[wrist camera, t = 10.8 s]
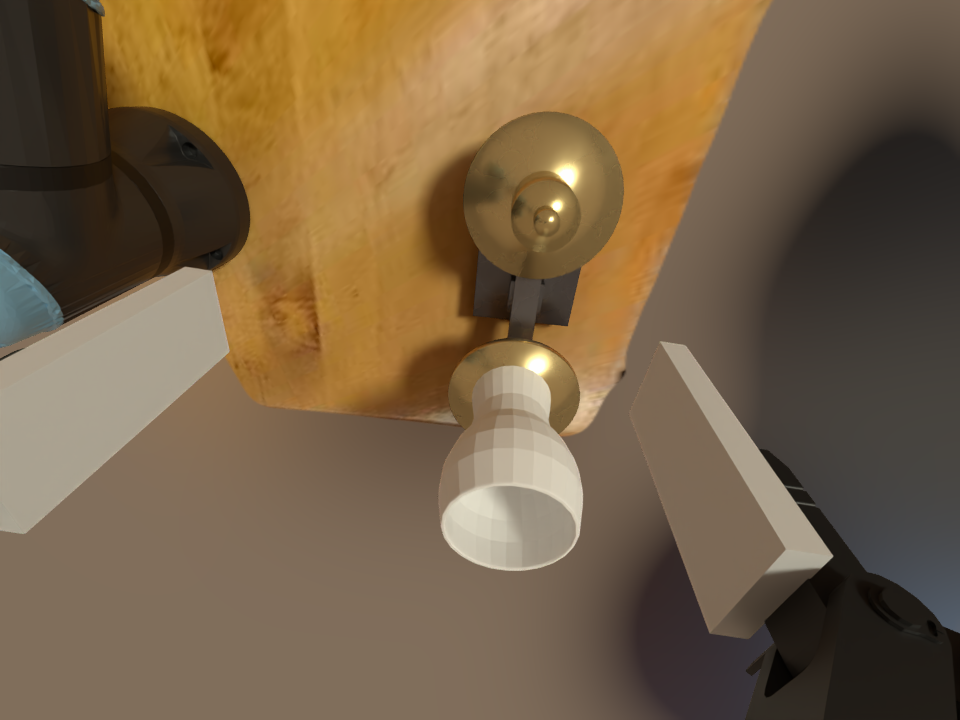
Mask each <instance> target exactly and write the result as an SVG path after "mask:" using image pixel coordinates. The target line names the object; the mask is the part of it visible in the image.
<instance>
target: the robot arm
mask: <svg viewBox="0 0 960 720" xmlns="http://www.w3.org/2000/svg"><path fill="white" fill-rule="evenodd" d="M101 16H104V17H105V11H104V8H103V6H102V4H101V3H100V2H99V0H0V348H2V347H6V346H9V345H12V344H14V343H17V342H19V341H22V340H24V339H27V338H29V337H31V336H34V335H36V334H39V333H41V332H48V331H52V330H54V329H57V328H58V327H60V326H61V325H63V324H64V323H66V322H68V321H70V320H72V319H74V318H76V317H78V316H80V315H82V314H84V313H86V312H88V311H90V310H92V309H93V308H95V307H97V306H99V305H101V304H103V303H105V302H107V301H109V300H111V299H113V298H115V297H117V296H119V295H121V294H122V293H124V292H126V291H128V290H130V289H132V288H134V287H136V286H138V285H140V284H142V283H144V282H146V281H148V280H150V279H152V278H154V277H159V276H166V277H164V278H162V279H160V280H158V281H156V282H154V283H152V284H151V285H148V286H146V287H144V288H142V289H141V290H138V291H137V292H135V293H133V294H131V295H129V296H127V297H125V298H123V299H121V300H119V301H117V302H115V303H113V304H111V305H109V306H107V307H105V308H103V309H101V310H99V311H97V312H95V313H93V314H92V315H89V316H87V317H86V318H84V319H82V320H80V321H78V322H76V323H74V324H72V325H70V326H68V327H66V328H64V329H62V330H60V331H58V332H56V333H54V334H52V335H50V336H48V337H46V338H44V339H42V340H40V341H38V342H37V343H34V344H33V345H31V346H29V347H27V348H23V349H20V350H17V351H14V352H12V353H10V354H8V355H6V356H4V357H2V358H0V530H1V531H8V532H15V533H21V534H25V533H26V532H28V531H29V530H30V529H31V528H32V527H33V526H34V525H35V524H37V523H38V522H39V521H40V520H41V519H42V518H43V517H44V516H46V515H47V514H48V513H49V512H50V511H51V510H52V509H54V508H55V507H56V506H57V505H58V504H59V503H60V502H61V501H63V499H65V498H66V497H67V496H68V495H69V494H70V493H71V492H73V490H75V489H76V488H77V487H78V486H79V485H80V484H81V483H83V482H84V481H85V480H86V479H87V478H88V477H89V476H91V475H92V474H93V473H94V472H95V471H96V470H97V469H99V468H100V467H101V466H102V465H103V464H104V463H105V462H106V461H107V460H109V459H110V458H111V457H112V456H113V455H114V454H115V453H116V452H118V451H119V450H120V449H121V448H122V447H123V446H124V445H125V444H127V443H128V442H129V441H130V440H131V439H132V438H133V437H134V436H136V435H137V434H138V433H139V432H140V431H141V430H142V429H143V428H145V427H146V426H147V425H148V424H149V423H150V422H151V421H152V420H153V419H155V418H156V417H157V416H158V415H159V414H160V413H161V412H163V411H164V410H165V409H166V408H167V407H168V406H169V405H170V404H172V403H173V402H174V401H175V400H176V399H177V398H178V397H179V396H181V395H182V394H183V393H184V392H185V391H186V390H187V389H188V388H190V387H191V385H193V384H194V383H195V382H196V381H197V380H198V379H200V378H201V377H202V376H203V375H204V374H205V373H206V372H208V371H209V370H210V369H211V368H212V367H213V366H214V365H215V364H217V363H218V362H219V361H220V360H221V359H222V358H223V357H224V356H226V355H227V354H228V353H229V352H230V351H229V347H228V342H227V337H226V333H225V328H224V324H223V319H222V315H221V310H220V306H219V301H218V296H217V292H216V287H215V283H214V278H213V274H212V271H211V270H213V269H215V268H217V267H219V266H221V265H223V264H225V263H227V262H228V261H230V260H231V259H233V258H234V257H235V256H236V255H237V254H238V253H239V252H240V251H241V249H242V248H243V246H244V244H245V242H246V240H247V237H248V233H249V227H250V211H249V204H248V199H247V196H246V192H245V189H244V187H243V184H242V182H241V180H240V178H239V176H238V174H237V172H236V170H235V168H234V167H233V165H232V164H231V162H230V161H229V159H228V158H227V156H226V155H225V154H224V153H223V151H222V150H221V149H220V148H219V147H218V146H217V144H216V143H215V142H214V141H213V140H212V139H211V138H209V137H208V136H207V135H206V134H205V133H204V132H203V131H201V130H200V129H199V128H197V127H196V126H195V125H193V124H192V123H190V122H188V121H187V120H185V119H183V118H181V117H179V116H177V115H175V114H173V113H170V112H168V111H165V110H161V109H157V108H152V107H117V108H112V109H108V105H107V90H106V76H105V62H104V48H103V34H102V20H101ZM629 415H630V418H631V421H632V423H633V426H634V429H635V432H636V434H637V437H638V440H639V443H640V445H641V448H642V451H643V453H644V456H645V459H646V462H647V464H648V467H649V470H650V472H651V475H652V478H653V480H654V483H655V486H656V489H657V491H658V494H659V497H660V499H661V502H662V505H663V508H664V511H665V513H666V516H667V519H668V521H669V524H670V527H671V530H672V532H673V535H674V538H675V540H676V543H677V546H678V549H679V551H680V554H681V557H682V559H683V562H684V565H685V567H686V570H687V573H688V576H689V578H690V581H691V584H692V587H693V589H694V592H695V595H696V597H697V600H698V603H699V605H700V608H701V611H702V614H703V616H704V619H705V622H706V625H707V627H708V630H709V633H710V634H718V635H724V636H732V637H738V638H745V639H749V638H750V637H751V636H752V635H753V634H754V633H755V632H756V631H757V630H758V629H759V628H760V627H761V626H762V625H763V624H766V626H767V628H768V630H769V632H770V634H771V636H772V638H773V640H774V644H772V645H771V646H770V647H769V648H768V649H767V650H766V651H765V652H764V653H762V654H761V655H760V656H759V657H758V658H757V659H756V660H755V661H754V662H753V663H752V664H751V665H750V666H749V667H748V669H747V670H746V672H748V673H749V674H750V675H751V676H752V675H753V674H755V673H756V672H757V671H758V670H759V669H761V670H760V673H759V676H758V679H757V683H756V686H755V689H754V692H753V696H752V699H751V702H750V705H749V709H748V712H747V715H746V718H745V720H960V633H958V632H955V631H953V630H950V629H948V628H945V627H943V626H942V625H941V624H940V622H939V621H938V619H937V618H936V617H935V615H934V614H933V613H932V612H931V611H930V610H929V609H928V608H927V607H926V606H925V605H923V603H922V602H921V601H920V600H918V599H917V598H916V597H915V596H913V595H912V594H911V593H909V592H908V591H906V590H905V589H904V588H902V587H901V586H899V585H898V584H896V583H894V582H892V581H890V580H888V579H886V578H884V577H882V576H880V575H876V574H873V573H868V572H866V570H865V569H864V568H863V567H862V565H861V564H860V563H859V561H858V560H857V558H856V557H855V556H854V554H853V553H852V552H851V550H850V549H849V548H848V546H847V545H846V544H845V542H844V541H843V540H842V538H841V537H840V536H839V534H838V533H837V532H836V530H835V529H834V528H833V526H832V525H831V524H830V522H829V521H828V520H827V518H826V517H825V516H824V514H823V513H822V512H821V510H820V509H819V508H816V507H815V502H814V501H813V500H812V498H811V497H810V496H809V494H808V493H807V492H806V491H803V487H802V485H801V483H800V482H799V481H798V479H797V478H796V477H795V475H794V474H793V473H792V472H791V470H790V469H789V468H788V467H787V466H786V465H785V464H784V463H782V462H781V461H780V460H779V459H778V458H776V457H775V456H774V455H773V454H772V453H770V451H768V450H764V449H758V448H757V447H756V445H755V444H754V442H753V441H752V439H751V438H750V437H749V435H748V434H747V432H746V431H745V430H744V428H743V427H742V425H741V424H740V423H739V421H738V420H737V418H736V417H735V415H734V414H733V412H732V411H731V410H730V408H729V407H728V405H727V404H726V402H725V401H724V400H723V398H722V397H721V395H720V394H719V392H718V391H717V390H716V388H715V387H714V385H713V384H712V383H711V381H710V380H709V378H708V377H707V376H706V374H705V372H704V371H703V370H702V369H701V367H700V365H699V364H698V363H697V361H696V360H695V358H694V357H693V355H692V354H691V353H690V351H689V350H688V348H687V347H686V346H685V345H680V344H673V343H667V342H661V341H660V342H659V345H658V347H657V349H656V351H655V354H654V356H653V358H652V361H651V363H650V365H649V368H648V370H647V372H646V375H645V377H644V379H643V381H642V384H641V386H640V388H639V391H638V393H637V395H636V398H635V400H634V402H633V405H632V407H631V409H630V411H629Z"/></svg>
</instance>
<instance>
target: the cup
mask: <svg viewBox="0 0 960 720" xmlns="http://www.w3.org/2000/svg"><path fill="white" fill-rule="evenodd" d="M550 405H551V394H550V390H549V387H548V385H547V383H546V382H545V381H544V379H543V378H542V377H541V376H540V375H538V374H537V373H536V372H534V371H532V370H530V369H527V368H525V367H519V366H501V367H498V368H495V369H492V370H490V371H488V372H487V373H485V374H484V375H483V376H482V377H481V378H480V379H479V380H478V381H477V382H476V384H475V386H474V388H473V394H472V406H473V414H474V419H473V422H472V425H471V426H470V427H468V428H467V429H466V430H465V431H464V432H463V433H462V434H461V435H460V437H459V438H458V440H457V441H456V443H455V445H454V446H453V448H452V449H451V451H450V453H449V455H448V457H447V458H446V460H445V462H444V465H443V470H442V475H441V480H440V485H439V493H438V501H439V514H440V525H441V529H442V533H443V536H444V538H445V539H446V541H447V542H448V544H449V545H450V547H451V548H452V549H453V550H455V551H456V552H457V553H458V554H459V555H461V556H462V557H464V558H466V559H468V560H470V561H472V562H474V563H476V564H479V565H482V566H485V567H488V568H493V569H500V570H507V571H509V570H510V571H520V570H521V571H522V570H529V569H536V568H540V567H543V566H546V565H549V564H552V563H554V562H556V561H557V560H559V559H561V558H562V557H564V556H565V555H566V554H567V553H568V552H569V551H570V550H571V549H572V548H573V547H574V545H575V543H576V541H577V539H578V537H579V533H580V524H581V516H582V507H583V491H582V485H581V479H580V474H579V470H578V467H577V465H576V462H575V460H574V458H573V456H572V454H571V452H570V451H569V449H568V447H567V446H566V444H565V442H564V441H563V440H562V438H561V437H560V436H559V435H558V434H557V432H556V431H555V430H554V429H553V428H552V427H550V424H549V414H550Z"/></svg>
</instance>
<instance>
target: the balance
mask: <svg viewBox="0 0 960 720" xmlns="http://www.w3.org/2000/svg"><path fill="white" fill-rule="evenodd" d="M623 195H624V185H623V176H622V171H621V167H620V164H619V161H618V158H617V156H616V154H615V152H614V150H613V148H612V146H611V145H610V144H609V142H608V141H607V139H606V138H605V137H604V136H603V135H602V134H601V133H600V132H599V131H598V130H597V129H596V128H594V127H593V126H592V125H590V124H589V123H587V122H585V121H584V120H582V119H580V118H578V117H575V116H572V115H569V114H565V113H559V112H537V113H531V114H527V115H524V116H521V117H519V118H516V119H514V120H512V121H510V122H508V123H507V124H505V125H503V126H502V127H501V128H499V129H498V130H497V131H496V132H494V133H493V134H492V135H491V136H490V137H489V138H488V139H487V141H486V142H485V143H484V144H483V145H482V147H481V148H480V150H479V151H478V152H477V154H476V156H475V158H474V160H473V161H472V163H471V166H470V169H469V171H468V174H467V178H466V182H465V186H464V194H463V207H464V215H465V220H466V224H467V227H468V230H469V233H470V235H471V237H472V239H473V241H474V243H475V245H476V246H477V247H478V249H479V254H478V265H477V277H476V288H475V299H474V311H473V316H481V317H490V318H499V319H507V320H510V323H509V330H508V337H507V338H505V339H498V340H494V341H490V342H487V343H485V344H482V345H480V346H478V347H476V348H475V349H473V350H471V351H470V352H469V353H468V354H466V355H465V356H464V357H463V358H462V359H461V360H460V361H459V363H458V364H457V366H456V367H455V369H454V371H453V373H452V376H451V379H450V383H449V389H448V400H449V405H450V408H451V411H452V413H453V415H454V417H455V419H456V420H457V421H458V423H459V424H460V425H461V426H462V427H463V428H464V429H465V430H466V429H467V428H468V427H470V426H471V425H472V422H473V419H474V414H473V406H472V394H473V388H474V386H475V384H476V382H477V381H478V380H479V379H480V378H481V377H482V376H483V375H484V374H485V373H487V372H488V371H490V370H492V369H495V368H498V367H501V366H519V367H525V368H527V369H530V370H532V371H534V372H536V373H537V374H538V375H540V376H541V377H542V378H543V379H544V381H545V382H546V383H547V385H548V387H549V390H550V394H551V405H550V414H549V424H550V427H552V428H553V429H554V430H555V431H556V432H557V434H559V433H561V432H562V431H563V430H564V429H565V428H566V427H567V426H568V425H569V424H570V422H571V421H572V420H573V418H574V416H575V414H576V412H577V409H578V406H579V401H580V391H579V385H578V380H577V377H576V374H575V372H574V370H573V368H572V367H571V365H570V364H569V363H568V361H567V360H566V359H565V358H564V357H563V356H562V355H561V354H559V353H558V352H557V351H556V350H554V349H552V348H550V347H549V346H547V345H544V344H542V343H540V342H536V341H533V340H532V337H533V331H534V325H535V323H543V324H552V325H561V326H568V322H569V318H570V314H571V309H572V305H573V300H574V296H575V292H576V287H577V283H578V278H579V274H580V270H581V266H583V265H584V264H586V263H587V262H588V261H590V260H591V259H592V258H593V257H594V256H595V255H596V254H597V253H598V252H599V251H600V250H601V249H602V248H603V247H604V245H605V244H606V243H607V242H608V240H609V238H610V237H611V235H612V233H613V232H614V229H615V227H616V225H617V223H618V220H619V217H620V214H621V210H622V204H623Z"/></svg>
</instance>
